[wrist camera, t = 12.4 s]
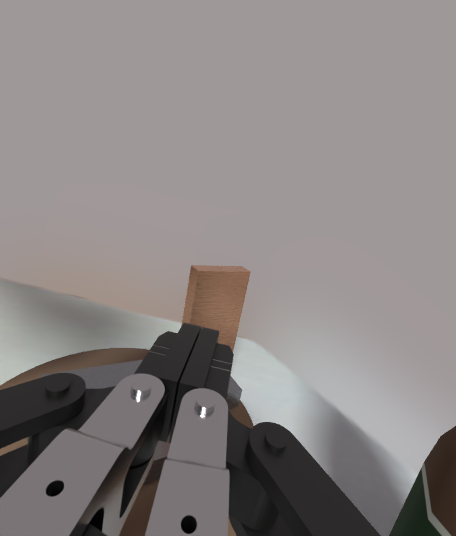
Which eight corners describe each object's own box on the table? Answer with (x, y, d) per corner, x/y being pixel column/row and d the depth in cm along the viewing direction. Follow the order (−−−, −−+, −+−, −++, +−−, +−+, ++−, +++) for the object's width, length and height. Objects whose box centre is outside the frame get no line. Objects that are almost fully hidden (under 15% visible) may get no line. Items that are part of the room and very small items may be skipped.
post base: (-119, 435, 22) (-129, 372, 21) (143, 338, 41) (148, 302, 40) (5, 901, 9) (1, 825, 8) (301, 446, 29) (317, 399, 27)
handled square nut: (38, 524, 17) (43, 306, 13) (40, 393, 26) (43, 241, 23) (263, 440, 26) (303, 294, 22) (206, 364, 35) (228, 251, 32)
